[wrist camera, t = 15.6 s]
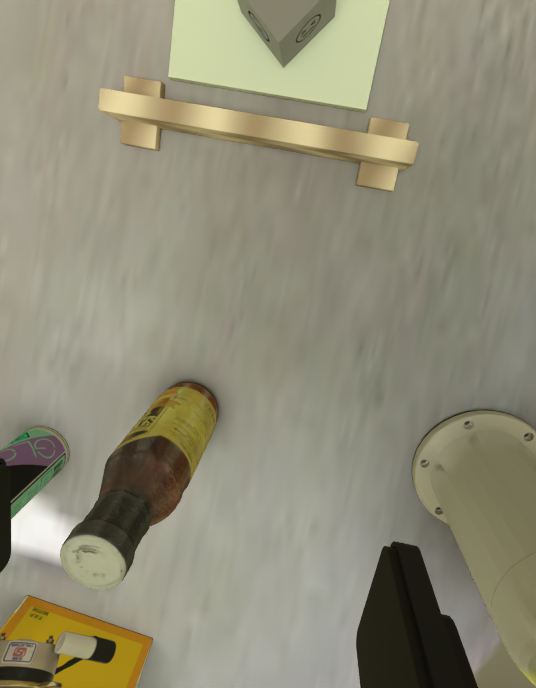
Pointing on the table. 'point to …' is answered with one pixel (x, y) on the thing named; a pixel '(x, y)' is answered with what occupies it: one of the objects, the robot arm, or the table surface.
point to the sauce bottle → (141, 485)
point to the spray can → (33, 463)
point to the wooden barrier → (259, 131)
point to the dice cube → (287, 23)
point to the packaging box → (68, 650)
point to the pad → (262, 66)
